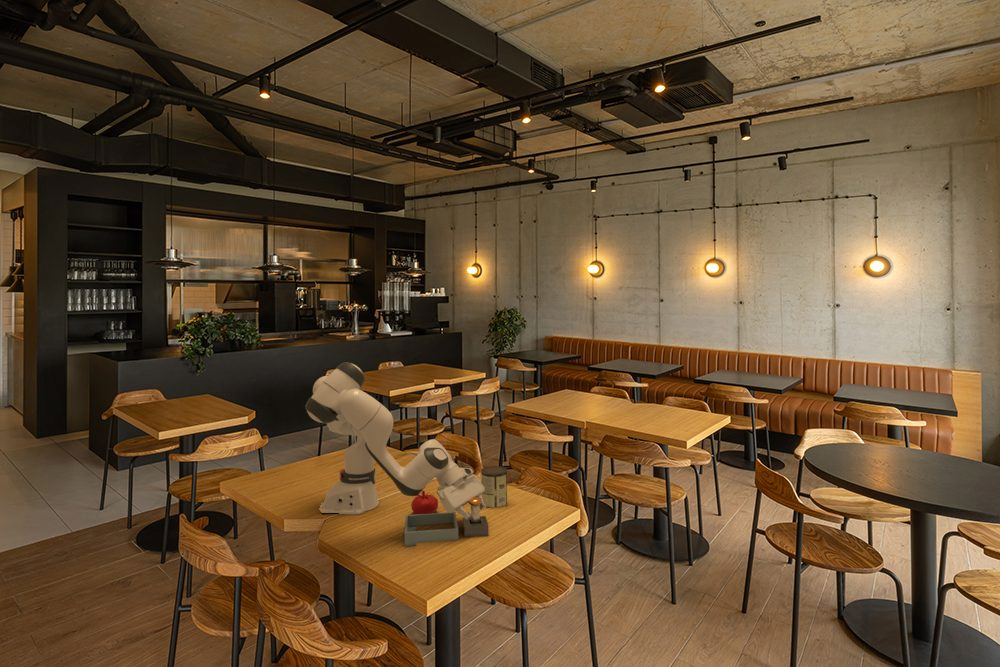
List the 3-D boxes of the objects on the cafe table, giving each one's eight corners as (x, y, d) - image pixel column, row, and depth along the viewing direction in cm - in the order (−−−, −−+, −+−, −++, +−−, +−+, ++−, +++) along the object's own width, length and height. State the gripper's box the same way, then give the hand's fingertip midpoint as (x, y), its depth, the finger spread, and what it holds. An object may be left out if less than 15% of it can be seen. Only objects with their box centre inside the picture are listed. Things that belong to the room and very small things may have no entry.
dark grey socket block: (464, 540, 179) (464, 527, 179) (462, 530, 187) (462, 517, 187) (488, 538, 180) (488, 525, 180) (485, 528, 188) (485, 516, 188)
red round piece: (437, 520, 196) (437, 495, 195) (410, 520, 196) (409, 495, 195) (438, 508, 206) (438, 485, 205) (412, 509, 205) (412, 485, 205)
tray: (404, 546, 175) (404, 532, 175) (405, 527, 189) (405, 515, 189) (458, 542, 177) (458, 529, 177) (455, 524, 192) (455, 512, 192)
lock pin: (469, 534, 181) (469, 502, 180) (468, 529, 185) (468, 497, 185) (482, 533, 182) (482, 501, 181) (481, 528, 186) (480, 496, 185)
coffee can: (488, 498, 217) (487, 464, 216) (511, 502, 212) (511, 467, 211) (476, 507, 207) (476, 471, 206) (500, 511, 203) (500, 475, 202)
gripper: (440, 484, 177) (465, 518, 172) (473, 467, 194) (496, 498, 190) (429, 494, 179) (453, 529, 175) (463, 477, 197) (486, 508, 193)
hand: (476, 513), depth 183 cm, fingers open, 8 cm apart
